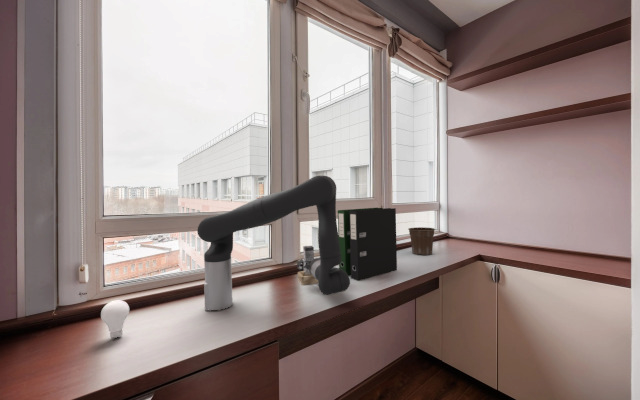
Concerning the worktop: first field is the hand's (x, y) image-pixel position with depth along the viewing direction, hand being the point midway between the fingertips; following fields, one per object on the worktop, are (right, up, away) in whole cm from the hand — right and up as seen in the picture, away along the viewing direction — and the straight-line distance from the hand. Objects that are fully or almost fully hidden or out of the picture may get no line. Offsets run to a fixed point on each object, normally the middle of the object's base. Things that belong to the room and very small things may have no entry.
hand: (310, 260), depth 124 cm
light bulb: (-55, -13, -44) cm, 72 cm away
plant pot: (+70, -8, +55) cm, 89 cm away
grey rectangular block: (-1, -9, +4) cm, 10 cm away
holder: (-1, -10, +4) cm, 11 cm away
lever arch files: (+29, -10, +15) cm, 35 cm away
